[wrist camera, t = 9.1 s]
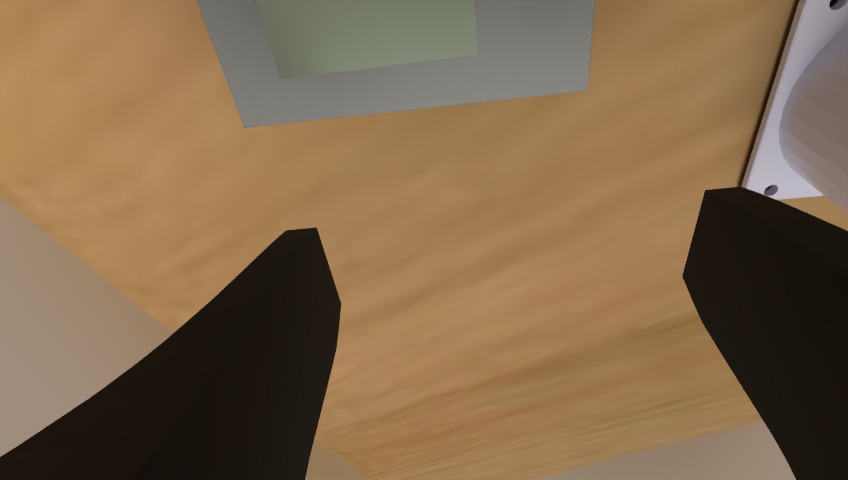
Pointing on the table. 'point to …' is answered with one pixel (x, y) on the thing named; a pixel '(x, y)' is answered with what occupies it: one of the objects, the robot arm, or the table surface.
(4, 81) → the table surface
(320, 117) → the slate plinth
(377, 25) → the sage cube
